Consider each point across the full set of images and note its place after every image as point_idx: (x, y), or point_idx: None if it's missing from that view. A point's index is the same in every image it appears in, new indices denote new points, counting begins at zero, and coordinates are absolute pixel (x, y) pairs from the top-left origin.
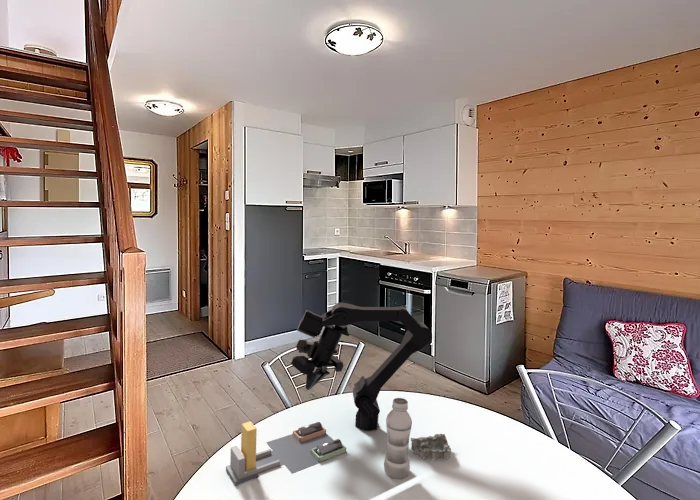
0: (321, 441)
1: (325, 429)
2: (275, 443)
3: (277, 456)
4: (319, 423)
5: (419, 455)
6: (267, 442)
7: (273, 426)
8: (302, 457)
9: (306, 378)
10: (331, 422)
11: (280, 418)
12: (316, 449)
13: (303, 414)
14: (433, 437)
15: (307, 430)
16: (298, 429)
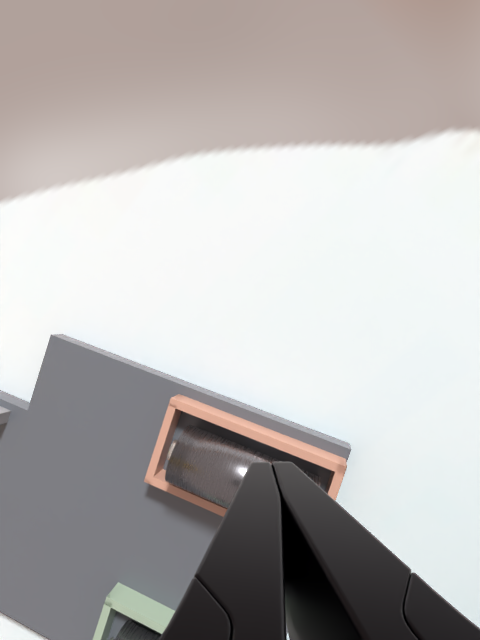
0: None
1: None
2: (70, 378)
3: (10, 461)
4: None
5: None
6: (54, 339)
7: (201, 225)
8: (72, 566)
9: (200, 563)
10: (475, 468)
11: (288, 186)
12: (123, 625)
13: (425, 256)
14: None
15: (198, 495)
16: (184, 430)
